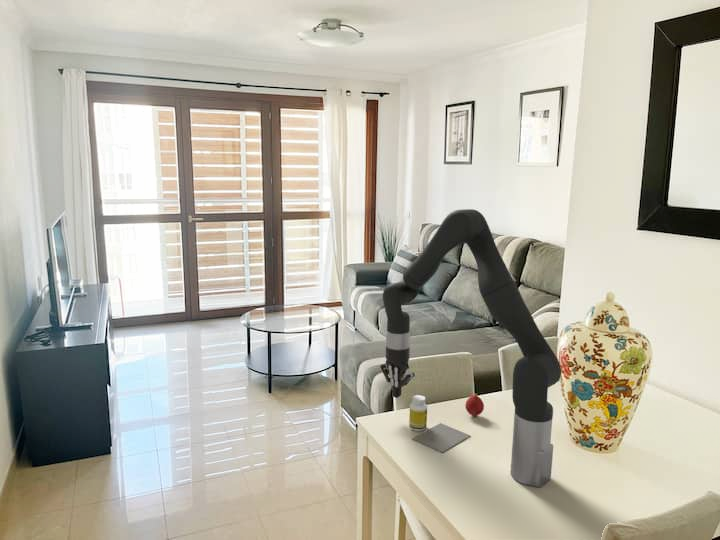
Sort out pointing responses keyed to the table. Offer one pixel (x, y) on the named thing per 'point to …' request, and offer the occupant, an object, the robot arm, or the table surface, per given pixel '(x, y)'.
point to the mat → (441, 437)
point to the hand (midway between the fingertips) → (396, 396)
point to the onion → (474, 405)
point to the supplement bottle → (418, 413)
